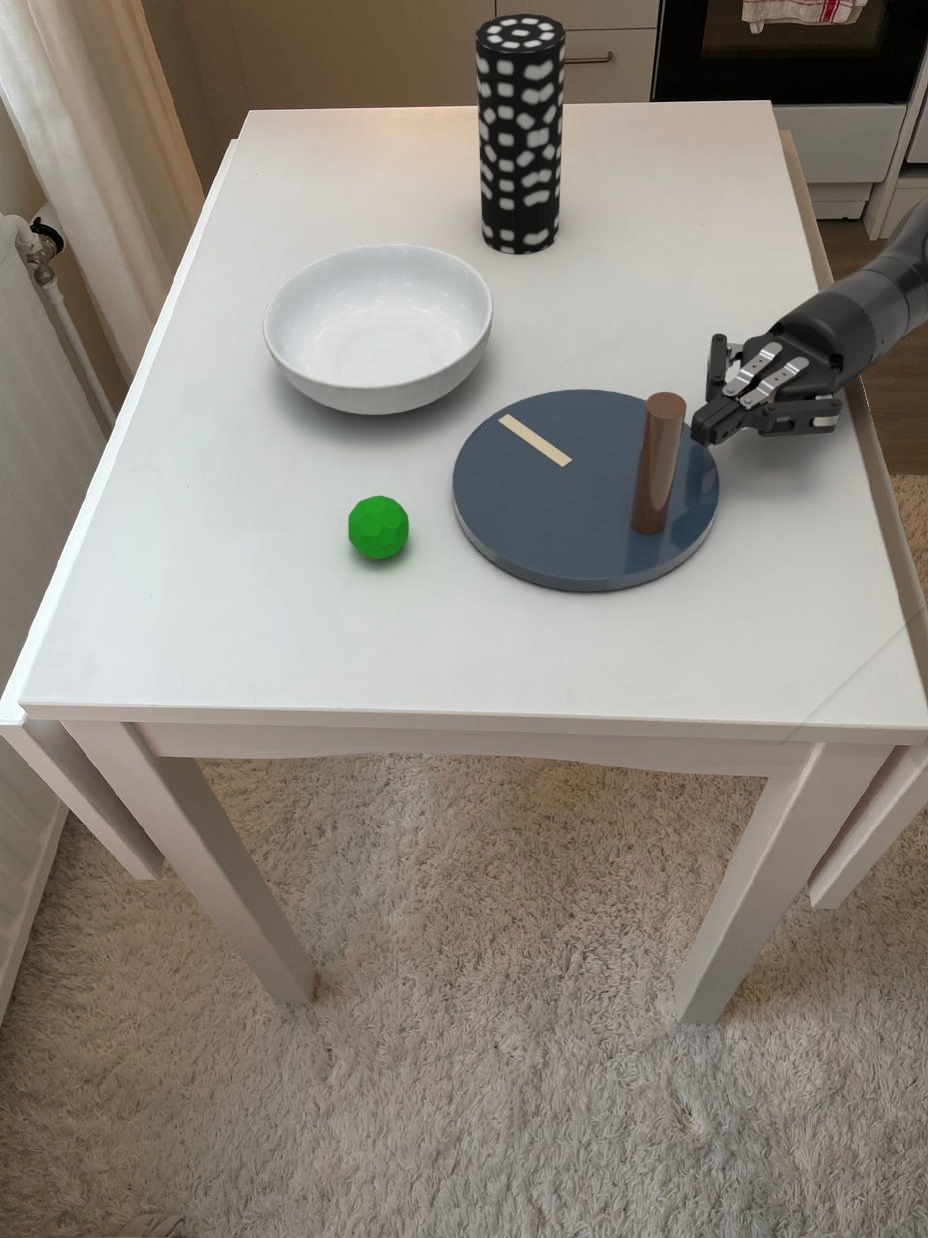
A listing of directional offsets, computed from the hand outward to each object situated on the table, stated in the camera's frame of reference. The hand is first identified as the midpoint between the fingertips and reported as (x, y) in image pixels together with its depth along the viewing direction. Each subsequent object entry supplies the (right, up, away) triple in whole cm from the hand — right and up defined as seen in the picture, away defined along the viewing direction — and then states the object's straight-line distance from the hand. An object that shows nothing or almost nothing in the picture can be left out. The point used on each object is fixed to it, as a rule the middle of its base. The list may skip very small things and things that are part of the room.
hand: (699, 434), depth 73 cm
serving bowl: (-25, +10, +19) cm, 33 cm away
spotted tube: (-12, +28, +32) cm, 44 cm away
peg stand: (-8, -3, +8) cm, 12 cm away
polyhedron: (-25, -8, +5) cm, 27 cm away
